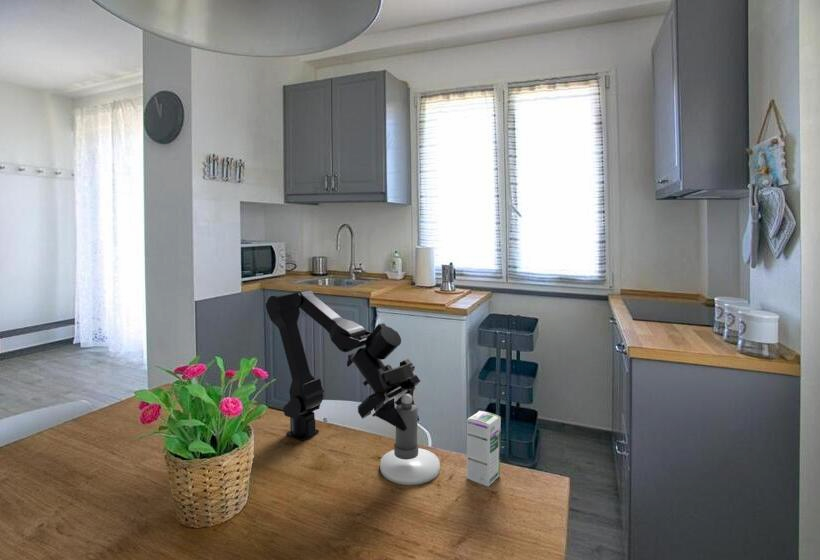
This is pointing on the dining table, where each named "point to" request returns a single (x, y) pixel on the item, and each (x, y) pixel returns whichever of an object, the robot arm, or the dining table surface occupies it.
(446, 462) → the dining table surface
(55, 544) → the dining table surface
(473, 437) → the syrup box
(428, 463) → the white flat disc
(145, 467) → the dining table surface
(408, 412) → the pepper mill
